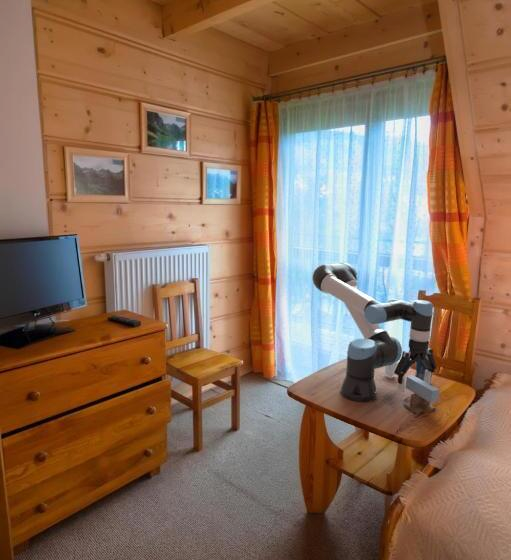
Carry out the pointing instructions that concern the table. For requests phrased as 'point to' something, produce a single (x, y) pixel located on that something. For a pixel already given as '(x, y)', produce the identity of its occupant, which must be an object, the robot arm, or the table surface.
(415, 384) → the bar
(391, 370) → the cup
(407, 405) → the ridge stand
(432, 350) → the robot arm
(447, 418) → the table surface
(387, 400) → the table surface
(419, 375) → the soda can
